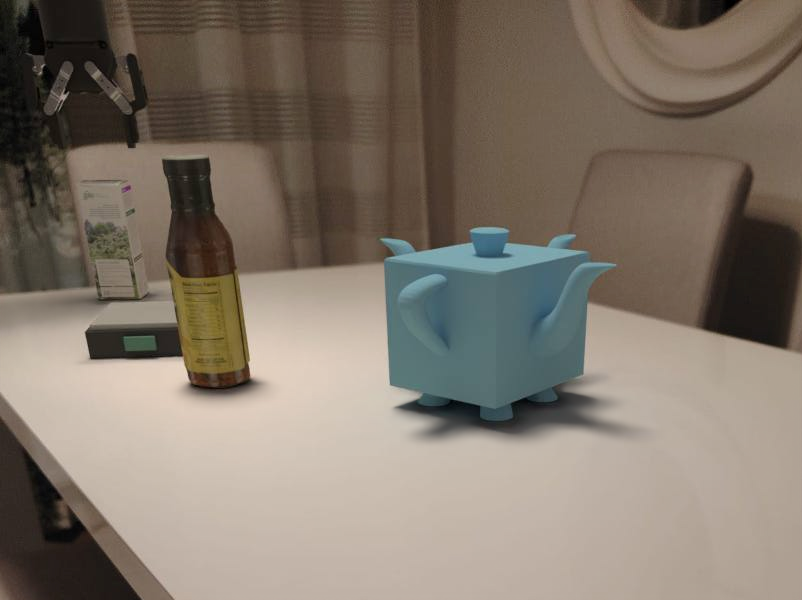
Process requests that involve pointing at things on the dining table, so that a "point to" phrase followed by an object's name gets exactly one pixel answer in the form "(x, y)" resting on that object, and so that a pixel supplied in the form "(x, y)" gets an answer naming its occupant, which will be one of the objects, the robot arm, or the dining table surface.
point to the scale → (135, 331)
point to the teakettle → (487, 319)
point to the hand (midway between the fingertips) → (97, 148)
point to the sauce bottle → (204, 278)
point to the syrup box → (113, 238)
